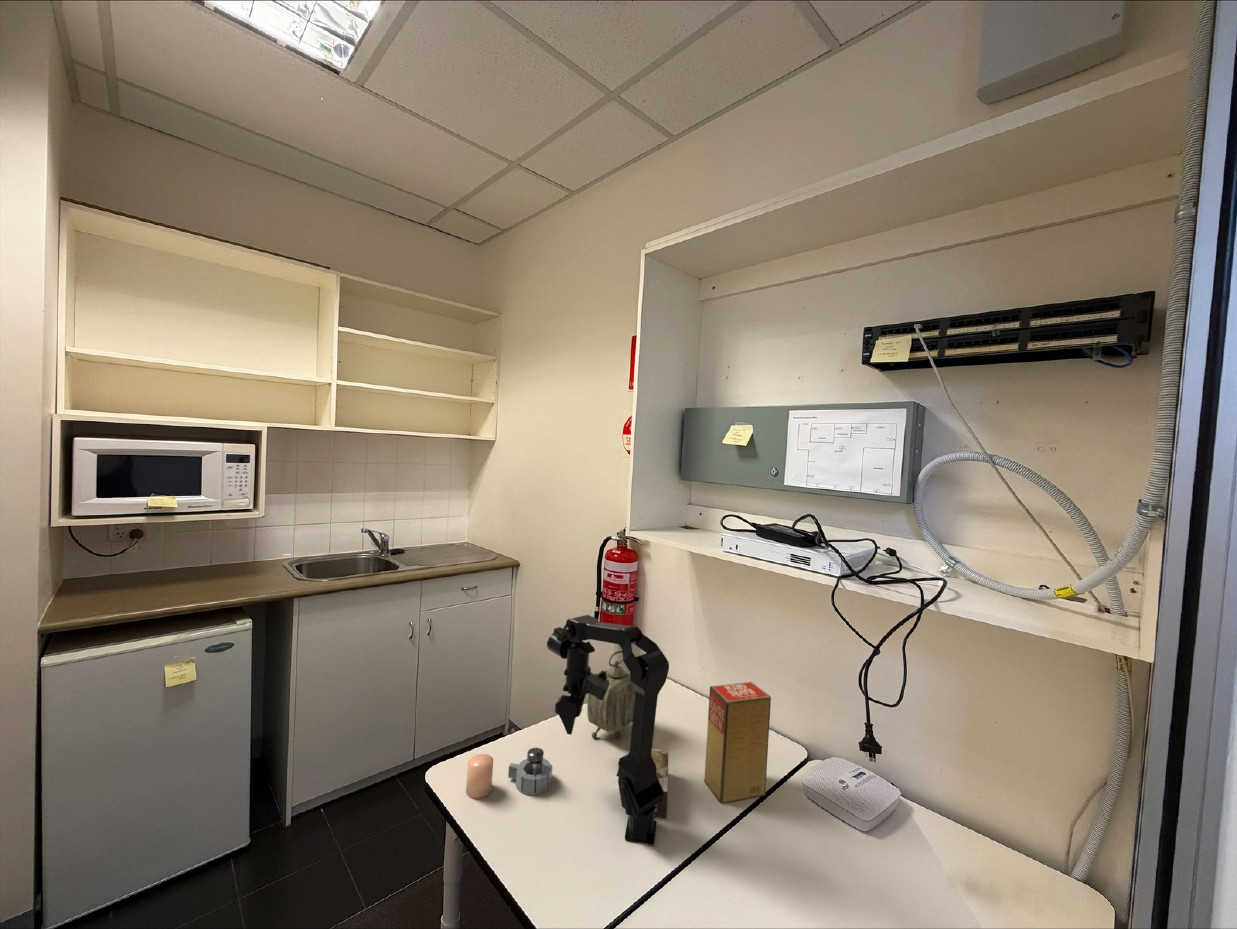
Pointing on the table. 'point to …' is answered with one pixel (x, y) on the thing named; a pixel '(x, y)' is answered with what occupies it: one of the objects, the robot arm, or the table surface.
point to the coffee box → (661, 778)
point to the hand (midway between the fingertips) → (573, 724)
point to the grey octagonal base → (531, 777)
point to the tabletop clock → (613, 702)
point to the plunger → (535, 758)
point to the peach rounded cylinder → (479, 776)
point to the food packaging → (737, 741)
